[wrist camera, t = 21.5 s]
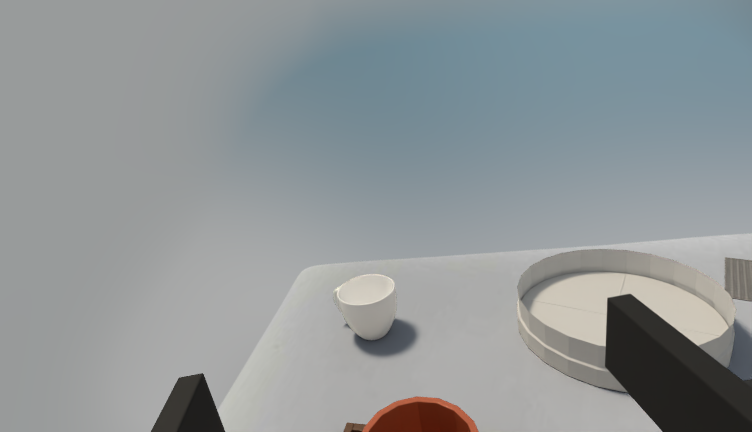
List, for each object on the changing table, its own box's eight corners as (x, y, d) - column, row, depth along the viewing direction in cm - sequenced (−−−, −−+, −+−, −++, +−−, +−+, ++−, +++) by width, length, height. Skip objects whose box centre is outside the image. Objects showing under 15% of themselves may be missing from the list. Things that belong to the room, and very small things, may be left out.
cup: (381, 355, 52) (372, 310, 50) (322, 336, 58) (312, 294, 56) (412, 321, 58) (405, 279, 56) (355, 307, 64) (348, 268, 62)
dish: (739, 427, 36) (748, 381, 34) (491, 357, 49) (488, 321, 47) (727, 296, 52) (732, 260, 51) (543, 269, 65) (542, 240, 64)
